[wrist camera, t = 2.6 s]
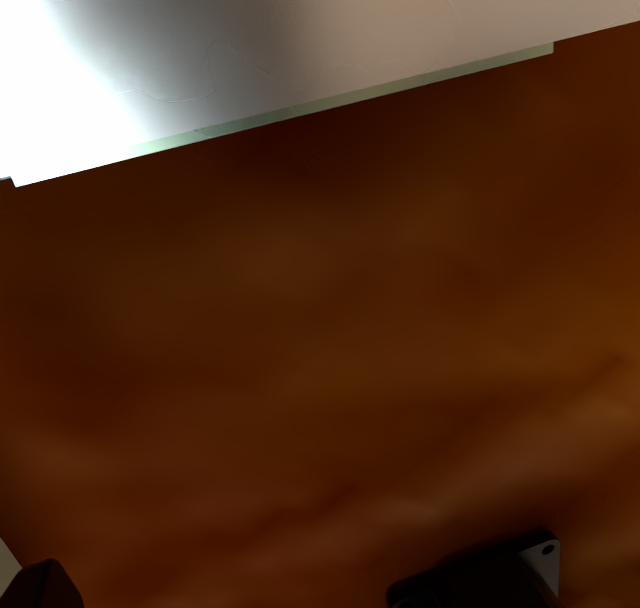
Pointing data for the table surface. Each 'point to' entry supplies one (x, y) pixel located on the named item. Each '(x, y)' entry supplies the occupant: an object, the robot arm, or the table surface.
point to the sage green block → (7, 567)
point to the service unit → (238, 65)
